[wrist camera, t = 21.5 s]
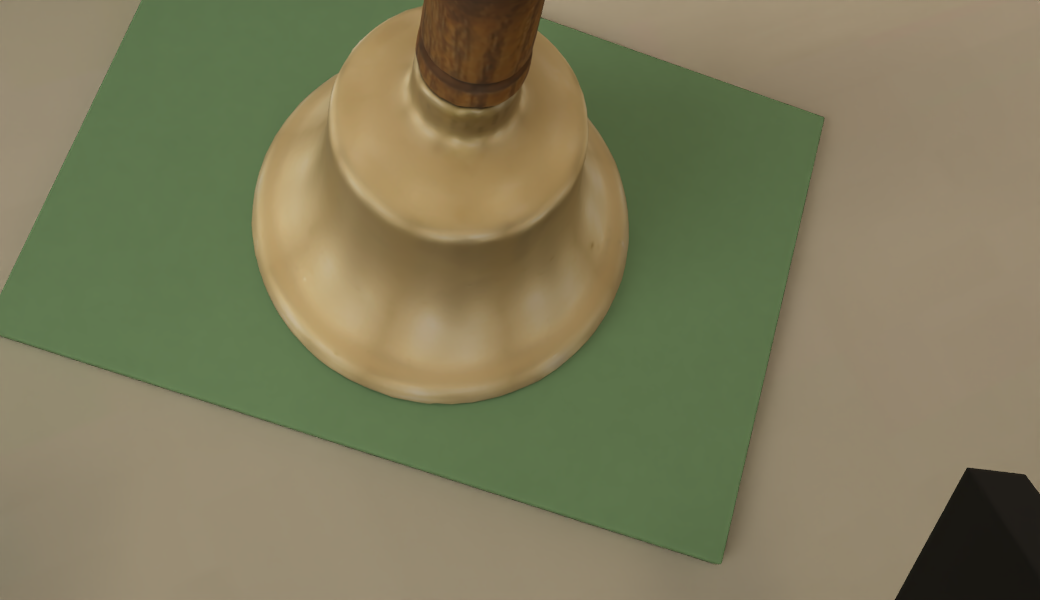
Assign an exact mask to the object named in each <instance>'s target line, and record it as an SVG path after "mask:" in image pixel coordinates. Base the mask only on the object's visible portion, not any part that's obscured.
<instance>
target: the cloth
mask: <svg viewBox="0 0 1040 600" xmlns="http://www.w3.org/2000/svg"><path fill="white" fill-rule="evenodd" d="M423 2H424V0H142V1H141V3H140V5H139V7H138V9H137V11H136V13H135V15H134V17H133V20H132V22H131V24H130V26H129V28H128V30H127V32H126V34H125V36H124V38H123V40H122V42H121V45H120V47H119V49H118V51H117V53H116V55H115V57H114V59H113V61H112V63H111V65H110V67H109V70H108V72H107V74H106V76H105V78H104V80H103V82H102V84H101V86H100V88H99V90H98V92H97V95H96V97H95V99H94V101H93V103H92V105H91V107H90V109H89V111H88V113H87V115H86V117H85V120H84V122H83V124H82V126H81V128H80V130H79V132H78V134H77V136H76V138H75V140H74V142H73V145H72V147H71V149H70V151H69V153H68V155H67V157H66V159H65V161H64V163H63V165H62V167H61V170H60V172H59V174H58V176H57V178H56V180H55V182H54V184H53V186H52V188H51V190H50V192H49V194H48V197H47V199H46V201H45V203H44V205H43V207H42V209H41V211H40V213H39V215H38V217H37V219H36V222H35V224H34V226H33V228H32V230H31V232H30V234H29V236H28V238H27V240H26V242H25V244H24V247H23V249H22V251H21V253H20V255H19V257H18V259H17V261H16V263H15V265H14V267H13V269H12V272H11V274H10V276H9V278H8V280H7V282H6V284H5V286H4V288H3V290H2V292H1V294H0V336H2V337H5V338H8V339H11V340H14V341H17V342H21V343H24V344H27V345H30V346H33V347H36V348H39V349H42V350H46V351H49V352H52V353H55V354H58V355H61V356H64V357H68V358H71V359H74V360H77V361H80V362H83V363H86V364H89V365H93V366H96V367H99V368H102V369H105V370H108V371H111V372H115V373H118V374H121V375H124V376H127V377H130V378H133V379H136V380H140V381H143V382H146V383H149V384H152V385H155V386H158V387H162V388H165V389H168V390H171V391H174V392H177V393H180V394H184V395H187V396H190V397H193V398H196V399H199V400H202V401H205V402H209V403H212V404H215V405H218V406H221V407H224V408H227V409H231V410H234V411H237V412H240V413H243V414H246V415H249V416H252V417H256V418H259V419H262V420H265V421H268V422H271V423H274V424H278V425H281V426H284V427H287V428H290V429H293V430H296V431H299V432H303V433H306V434H309V435H312V436H315V437H318V438H321V439H325V440H328V441H331V442H334V443H337V444H340V445H343V446H346V447H350V448H353V449H356V450H359V451H362V452H365V453H368V454H372V455H375V456H378V457H381V458H384V459H387V460H390V461H393V462H397V463H400V464H403V465H406V466H409V467H412V468H415V469H419V470H422V471H425V472H428V473H431V474H434V475H437V476H440V477H444V478H447V479H450V480H453V481H456V482H459V483H462V484H466V485H469V486H472V487H475V488H478V489H481V490H484V491H487V492H491V493H494V494H497V495H500V496H503V497H506V498H509V499H513V500H516V501H519V502H522V503H525V504H528V505H531V506H534V507H538V508H541V509H544V510H547V511H550V512H553V513H556V514H560V515H563V516H566V517H569V518H572V519H575V520H578V521H581V522H585V523H588V524H591V525H594V526H597V527H600V528H603V529H607V530H610V531H613V532H616V533H619V534H622V535H625V536H628V537H632V538H635V539H638V540H641V541H644V542H647V543H650V544H654V545H657V546H660V547H663V548H666V549H669V550H672V551H675V552H679V553H682V554H685V555H688V556H691V557H694V558H697V559H701V560H704V561H707V562H710V563H713V564H721V563H722V559H723V555H724V550H725V546H726V542H727V537H728V533H729V529H730V524H731V520H732V516H733V511H734V507H735V503H736V498H737V494H738V490H739V485H740V481H741V477H742V472H743V468H744V464H745V459H746V455H747V451H748V447H749V442H750V438H751V434H752V429H753V425H754V421H755V416H756V412H757V408H758V403H759V399H760V395H761V390H762V386H763V382H764V377H765V373H766V369H767V364H768V360H769V356H770V351H771V347H772V343H773V338H774V334H775V330H776V326H777V321H778V317H779V313H780V308H781V304H782V300H783V295H784V291H785V287H786V282H787V278H788V274H789V269H790V265H791V261H792V256H793V252H794V248H795V243H796V239H797V235H798V230H799V226H800V222H801V217H802V213H803V209H804V205H805V200H806V196H807V192H808V187H809V183H810V179H811V174H812V170H813V166H814V161H815V157H816V153H817V148H818V144H819V140H820V135H821V131H822V127H823V122H824V117H822V116H819V115H816V114H813V113H811V112H808V111H805V110H802V109H799V108H796V107H793V106H791V105H788V104H785V103H782V102H779V101H776V100H774V99H771V98H768V97H765V96H762V95H759V94H757V93H754V92H751V91H748V90H745V89H742V88H739V87H737V86H734V85H731V84H728V83H725V82H722V81H720V80H717V79H714V78H711V77H708V76H705V75H703V74H700V73H697V72H694V71H691V70H688V69H686V68H683V67H680V66H677V65H674V64H671V63H668V62H666V61H663V60H660V59H657V58H654V57H651V56H649V55H646V54H643V53H640V52H637V51H634V50H632V49H629V48H626V47H623V46H620V45H617V44H614V43H612V42H609V41H606V40H603V39H600V38H597V37H595V36H592V35H589V34H586V33H583V32H580V31H578V30H575V29H572V28H569V27H566V26H563V25H560V24H558V23H555V22H552V21H549V20H546V19H543V18H540V22H539V26H538V31H539V32H540V33H541V34H542V35H543V36H544V37H546V38H547V39H548V40H549V41H550V42H551V43H552V44H553V45H554V46H555V47H556V48H557V49H558V51H559V52H560V53H561V54H562V56H563V57H564V58H565V59H566V61H567V62H568V64H569V65H570V67H571V68H572V70H573V72H574V74H575V76H576V78H577V80H578V82H579V85H580V87H581V90H582V92H583V95H584V99H585V103H586V108H587V117H588V118H589V120H590V121H591V122H592V124H593V125H594V126H595V128H596V129H597V130H598V132H599V133H600V135H601V136H602V138H603V140H604V142H605V143H606V145H607V147H608V148H609V150H610V152H611V154H612V156H613V158H614V160H615V162H616V165H617V168H618V171H619V174H620V177H621V181H622V184H623V188H624V192H625V196H626V202H627V209H628V221H629V244H628V251H627V258H626V264H625V269H624V273H623V277H622V281H621V283H620V285H619V288H618V290H617V293H616V295H615V298H614V300H613V302H612V304H611V306H610V308H609V310H608V312H607V314H606V315H605V317H604V319H603V320H602V322H601V323H600V325H599V326H598V328H597V329H596V331H595V332H594V333H593V334H592V336H591V337H590V338H589V340H588V341H587V342H586V343H585V344H584V345H583V346H582V347H581V348H580V349H579V350H578V351H577V352H576V353H575V354H574V355H573V356H572V357H570V358H569V359H568V360H567V361H566V362H565V363H563V364H562V365H561V366H560V367H559V368H557V369H556V370H555V371H553V372H552V373H550V374H549V375H547V376H545V377H544V378H542V379H541V380H539V381H537V382H535V383H533V384H530V385H528V386H526V387H523V388H521V389H519V390H516V391H513V392H511V393H508V394H505V395H503V396H499V397H495V398H491V399H487V400H482V401H477V402H472V403H460V404H441V403H432V404H427V403H420V402H414V401H409V400H404V399H399V398H394V397H390V396H388V395H385V394H382V393H380V392H377V391H374V390H372V389H369V388H367V387H364V386H362V385H360V384H358V383H355V382H353V381H351V380H349V379H348V378H346V377H344V376H343V375H341V374H339V373H338V372H336V371H334V370H333V369H331V368H329V367H328V366H327V365H325V364H324V363H323V362H321V361H320V360H319V359H318V358H317V357H315V356H314V355H313V354H312V353H311V352H310V351H309V350H308V349H307V348H306V347H305V346H304V345H303V344H302V343H301V342H300V340H299V339H298V338H297V337H296V336H295V335H294V334H293V333H292V332H291V330H290V329H289V328H288V326H287V325H286V323H285V322H284V321H283V319H282V318H281V316H280V315H279V313H278V311H277V310H276V308H275V306H274V304H273V302H272V300H271V298H270V296H269V294H268V292H267V290H266V287H265V285H264V283H263V279H262V276H261V273H260V271H259V267H258V262H257V259H256V256H255V250H254V242H253V235H252V210H253V200H254V192H255V188H256V183H257V179H258V175H259V172H260V169H261V166H262V163H263V160H264V157H265V155H266V153H267V151H268V149H269V147H270V145H271V143H272V141H273V139H274V137H275V136H276V134H277V133H278V131H279V130H280V128H281V127H282V125H283V124H284V122H285V121H286V119H287V118H288V117H289V116H290V115H291V113H292V112H293V111H294V110H295V109H296V107H297V106H298V105H299V104H300V103H301V102H302V101H303V100H304V99H305V98H306V97H307V96H308V95H309V94H311V93H312V92H313V91H314V90H315V89H317V88H318V87H319V86H320V85H322V84H323V83H324V82H326V81H327V80H329V79H330V78H331V77H333V76H334V75H336V74H338V73H339V72H340V70H341V68H342V66H343V64H344V63H345V61H346V60H347V58H348V56H349V55H350V53H351V51H352V50H353V48H354V47H355V46H356V45H357V44H358V43H359V42H360V41H361V40H362V39H363V38H364V37H365V36H366V35H367V34H368V33H369V32H371V31H372V30H373V29H374V28H375V27H377V26H378V25H380V24H381V23H383V22H384V21H386V20H388V19H389V18H391V17H393V16H396V15H398V14H400V13H402V12H404V11H406V10H409V9H413V8H416V7H420V6H423Z"/></svg>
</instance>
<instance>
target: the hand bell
mask: <svg viewBox="0 0 1040 600" xmlns="http://www.w3.org/2000/svg"><path fill="white" fill-rule="evenodd" d="M544 1H545V0H424V2H423V6H420V7H416V8H413V9H409V10H406V11H404V12H402V13H400V14H398V15H396V16H393V17H391V18H389V19H388V20H386V21H384V22H383V23H381V24H380V25H378V26H377V27H375V28H374V29H373V30H372V31H371V32H369V33H368V34H367V35H366V36H365V37H364V38H363V39H362V40H361V41H360V42H359V43H358V44H357V45H356V46H355V47H354V48H353V50H352V51H351V53H350V55H349V56H348V58H347V60H346V61H345V63H344V64H343V66H342V68H341V70H340V72H339V73H338V74H336V75H334V76H333V77H331V78H330V79H329V80H327V81H326V82H324V83H323V84H322V85H320V86H319V87H318V88H317V89H315V90H314V91H313V92H312V93H311V94H309V95H308V96H307V97H306V98H305V99H304V100H303V101H302V102H301V103H300V104H299V105H298V106H297V107H296V109H295V110H294V111H293V112H292V113H291V115H290V116H289V117H288V118H287V119H286V121H285V122H284V124H283V125H282V127H281V128H280V130H279V131H278V133H277V134H276V136H275V137H274V139H273V141H272V143H271V145H270V147H269V149H268V151H267V153H266V155H265V157H264V160H263V163H262V166H261V169H260V172H259V175H258V179H257V183H256V188H255V192H254V200H253V210H252V235H253V242H254V250H255V256H256V259H257V262H258V267H259V271H260V273H261V276H262V279H263V283H264V285H265V287H266V290H267V292H268V294H269V296H270V298H271V300H272V302H273V304H274V306H275V308H276V310H277V311H278V313H279V315H280V316H281V318H282V319H283V321H284V322H285V323H286V325H287V326H288V328H289V329H290V330H291V332H292V333H293V334H294V335H295V336H296V337H297V338H298V339H299V340H300V342H301V343H302V344H303V345H304V346H305V347H306V348H307V349H308V350H309V351H310V352H311V353H312V354H313V355H314V356H315V357H317V358H318V359H319V360H320V361H321V362H323V363H324V364H325V365H327V366H328V367H329V368H331V369H333V370H334V371H336V372H338V373H339V374H341V375H343V376H344V377H346V378H348V379H349V380H351V381H353V382H355V383H358V384H360V385H362V386H364V387H367V388H369V389H372V390H374V391H377V392H380V393H382V394H385V395H388V396H390V397H394V398H399V399H404V400H409V401H414V402H420V403H427V404H432V403H441V404H460V403H472V402H477V401H482V400H487V399H491V398H495V397H499V396H503V395H505V394H508V393H511V392H513V391H516V390H519V389H521V388H523V387H526V386H528V385H530V384H533V383H535V382H537V381H539V380H541V379H542V378H544V377H545V376H547V375H549V374H550V373H552V372H553V371H555V370H556V369H557V368H559V367H560V366H561V365H562V364H563V363H565V362H566V361H567V360H568V359H569V358H570V357H572V356H573V355H574V354H575V353H576V352H577V351H578V350H579V349H580V348H581V347H582V346H583V345H584V344H585V343H586V342H587V341H588V340H589V338H590V337H591V336H592V334H593V333H594V332H595V331H596V329H597V328H598V326H599V325H600V323H601V322H602V320H603V319H604V317H605V315H606V314H607V312H608V310H609V308H610V306H611V304H612V302H613V300H614V298H615V295H616V293H617V290H618V288H619V285H620V283H621V281H622V277H623V273H624V269H625V264H626V258H627V251H628V244H629V221H628V209H627V202H626V196H625V192H624V188H623V184H622V181H621V177H620V174H619V171H618V168H617V165H616V162H615V160H614V158H613V156H612V154H611V152H610V150H609V148H608V147H607V145H606V143H605V142H604V140H603V138H602V136H601V135H600V133H599V132H598V130H597V129H596V128H595V126H594V125H593V124H592V122H591V121H590V120H589V118H588V117H587V108H586V103H585V99H584V95H583V92H582V90H581V87H580V85H579V82H578V80H577V78H576V76H575V74H574V72H573V70H572V68H571V67H570V65H569V64H568V62H567V61H566V59H565V58H564V57H563V56H562V54H561V53H560V52H559V51H558V49H557V48H556V47H555V46H554V45H553V44H552V43H551V42H550V41H549V40H548V39H547V38H546V37H544V36H543V35H542V34H541V33H540V32H539V31H538V26H539V22H540V18H541V13H542V9H543V5H544Z"/></svg>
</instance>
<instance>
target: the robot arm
mask: <svg viewBox="0 0 1040 600" xmlns="http://www.w3.org/2000/svg"><path fill="white" fill-rule="evenodd" d="M895 600H1040V494H1039V493H1038V491H1037V490H1036V488H1035V487H1034V486H1033V484H1032V483H1031V482H1030V480H1029V479H1028V478H1027V476H1026V475H1024V474H1016V473H1007V472H999V471H991V470H983V469H974V468H967V469H966V471H965V472H964V474H963V476H962V478H961V480H960V481H959V483H958V485H957V487H956V489H955V491H954V492H953V494H952V496H951V498H950V500H949V502H948V503H947V505H946V507H945V509H944V511H943V513H942V514H941V516H940V518H939V520H938V522H937V524H936V525H935V527H934V529H933V531H932V533H931V535H930V536H929V538H928V540H927V542H926V544H925V546H924V547H923V549H922V551H921V553H920V555H919V557H918V558H917V560H916V562H915V564H914V566H913V568H912V569H911V571H910V573H909V575H908V577H907V578H906V580H905V582H904V584H903V586H902V588H901V589H900V591H899V593H898V595H897V597H896V599H895Z"/></svg>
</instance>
